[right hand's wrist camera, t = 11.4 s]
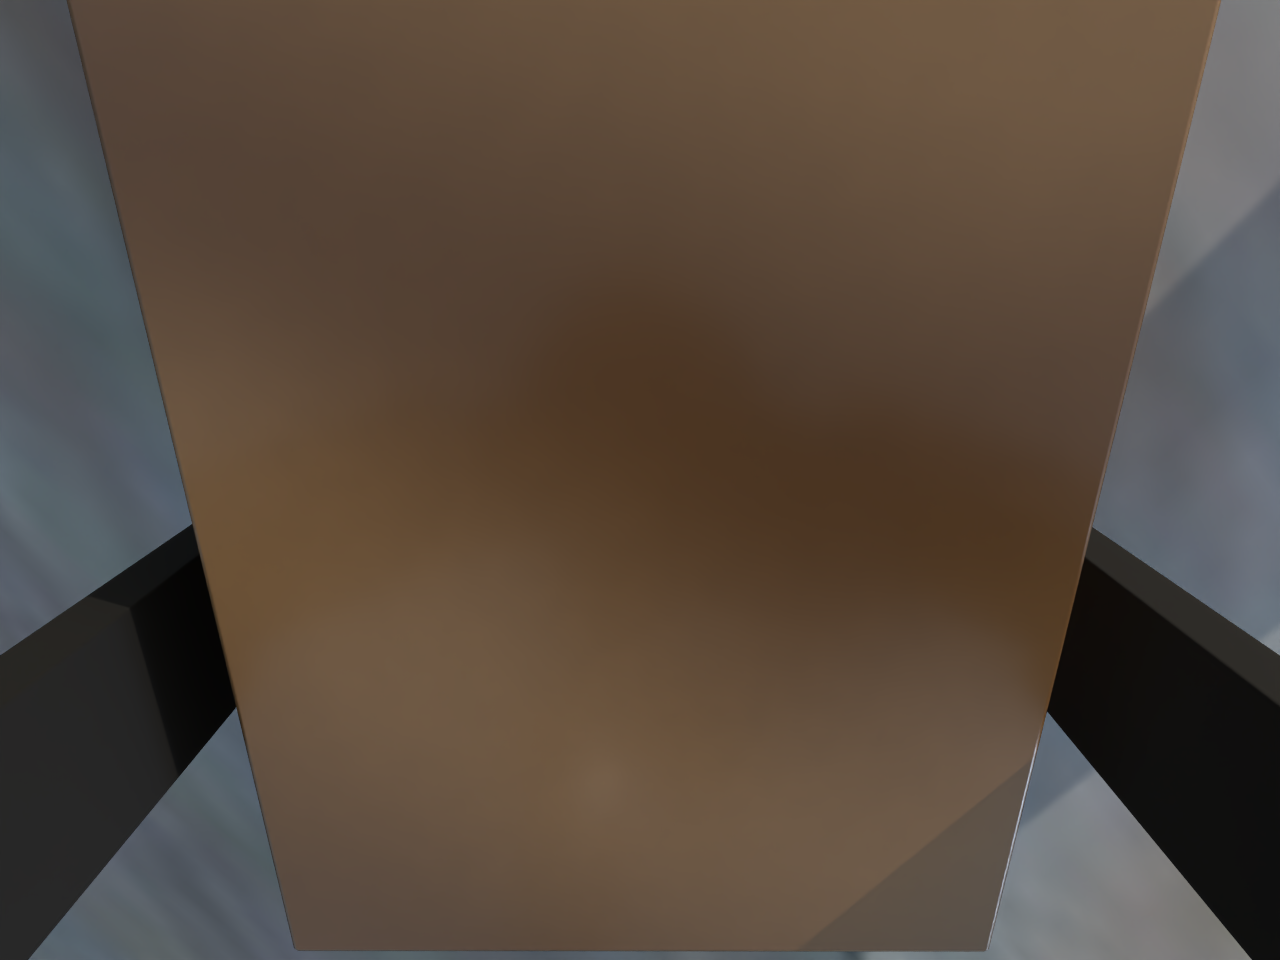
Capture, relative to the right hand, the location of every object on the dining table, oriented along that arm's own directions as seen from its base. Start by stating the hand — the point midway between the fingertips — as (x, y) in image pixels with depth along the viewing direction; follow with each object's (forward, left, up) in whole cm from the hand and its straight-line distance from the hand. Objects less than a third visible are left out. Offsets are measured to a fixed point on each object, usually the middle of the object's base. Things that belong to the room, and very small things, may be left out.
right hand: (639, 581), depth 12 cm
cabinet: (+4, +4, -5) cm, 7 cm away
